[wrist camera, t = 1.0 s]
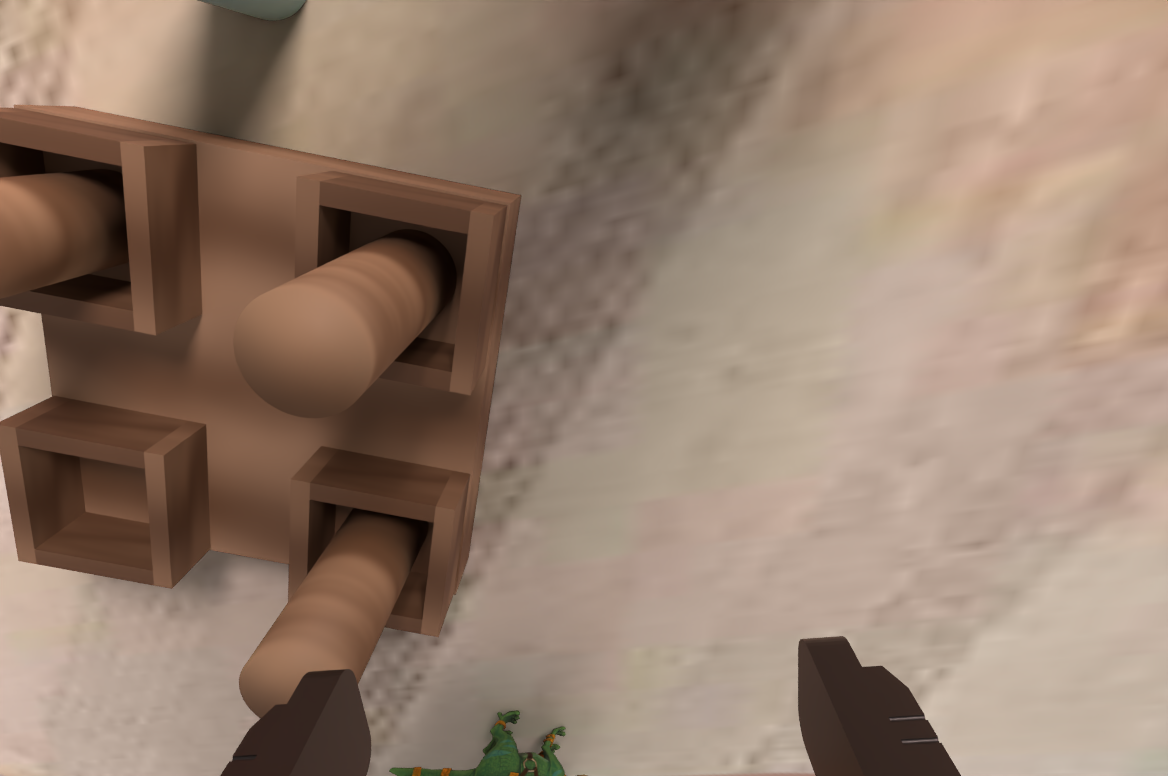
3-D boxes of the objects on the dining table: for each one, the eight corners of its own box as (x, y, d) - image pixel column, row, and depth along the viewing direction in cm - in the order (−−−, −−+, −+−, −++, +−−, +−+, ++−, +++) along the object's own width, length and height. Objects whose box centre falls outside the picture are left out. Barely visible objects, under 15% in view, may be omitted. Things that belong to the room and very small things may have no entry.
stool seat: (74, 106, 28) (-348, 93, 16) (521, 195, 28) (448, 249, 16) (113, 491, 35) (-156, 687, 23) (468, 557, 35) (390, 783, 23)
